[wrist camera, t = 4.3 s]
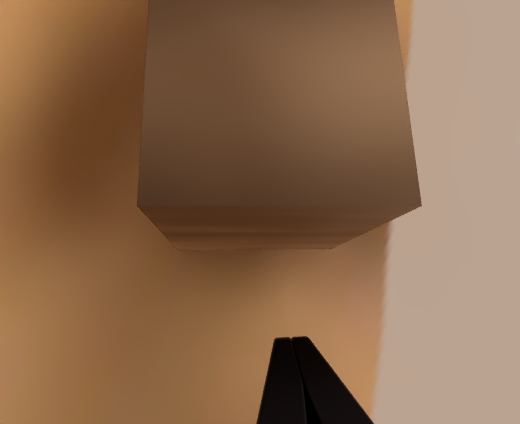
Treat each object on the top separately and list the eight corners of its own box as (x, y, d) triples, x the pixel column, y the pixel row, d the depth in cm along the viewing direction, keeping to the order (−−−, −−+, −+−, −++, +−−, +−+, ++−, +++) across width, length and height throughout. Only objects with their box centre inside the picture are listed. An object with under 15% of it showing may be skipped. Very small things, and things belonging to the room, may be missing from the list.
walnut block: (330, 248, 17) (421, 206, 9) (178, 250, 16) (137, 205, 8) (312, 0, 20) (368, -187, 12) (186, -7, 19) (161, -211, 12)
